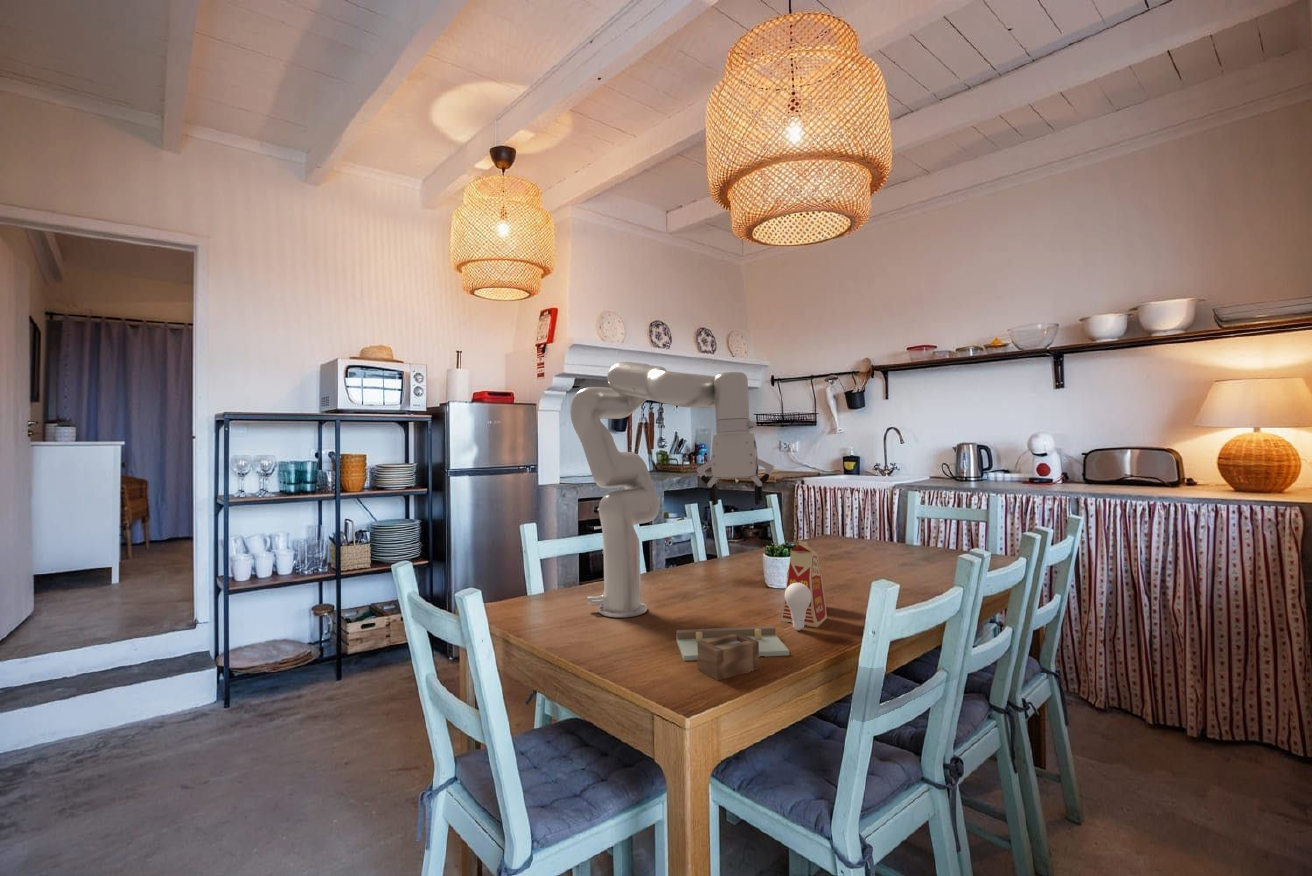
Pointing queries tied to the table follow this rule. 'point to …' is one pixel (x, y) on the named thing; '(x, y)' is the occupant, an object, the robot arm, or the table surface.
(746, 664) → the wooden box
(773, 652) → the board
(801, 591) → the lightbulb
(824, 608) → the milk carton
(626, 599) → the robot arm
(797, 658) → the table surface
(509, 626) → the table surface
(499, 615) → the table surface
